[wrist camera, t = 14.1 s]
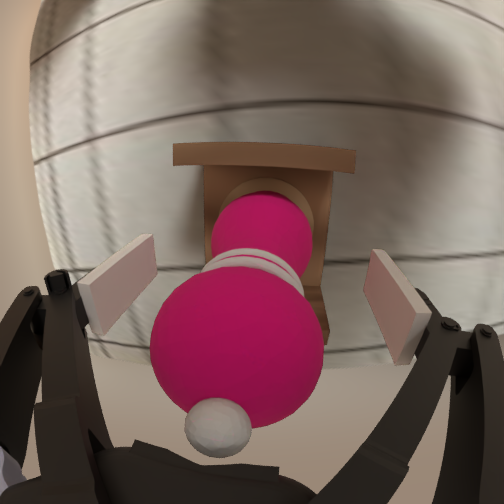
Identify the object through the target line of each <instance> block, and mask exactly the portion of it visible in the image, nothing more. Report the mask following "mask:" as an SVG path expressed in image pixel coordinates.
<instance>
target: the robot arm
mask: <svg viewBox="0 0 504 504" xmlns="http://www.w3.org/2000/svg"><path fill="white" fill-rule="evenodd" d="M156 275H157V267H156V259H155V250H154V240H153V234H141V235H140V236H138V237H137V238H136V239H134V240H133V241H131V242H130V243H129V244H127V245H126V246H124V247H123V248H122V249H120V250H119V251H118V252H116V253H115V254H113V255H112V256H111V257H109V258H108V259H107V260H105V261H104V262H103V263H101V264H100V265H99V266H98V267H96V268H94V269H92V270H91V271H90V272H89V273H88V274H86V275H85V276H84V277H82V278H81V279H80V280H78V281H77V282H76V283H75V284H73V285H71V281H70V277H69V274H68V271H67V270H64V269H60V270H55V271H52V272H50V273H48V274H47V275H46V276H45V278H44V280H45V284H46V287H47V290H48V293H49V295H41V293H40V290H39V288H38V287H37V286H31V287H30V286H29V287H26V288H24V290H22V291H21V292H20V293H19V294H18V296H17V297H16V299H15V300H14V302H13V303H12V305H11V306H10V308H9V309H8V311H7V313H6V314H5V316H4V318H3V319H2V321H1V323H0V504H387V503H388V502H389V500H390V499H391V497H392V496H393V494H394V493H395V492H396V490H397V489H398V487H399V485H400V484H401V482H402V481H403V479H404V478H405V476H406V474H407V472H408V470H409V466H407V465H408V462H409V461H410V459H411V457H412V455H413V454H414V452H415V450H416V448H417V446H418V444H419V442H420V441H421V439H422V436H423V434H424V433H425V431H426V428H427V426H428V424H429V422H430V420H431V417H432V415H433V413H434V411H435V409H436V406H437V403H438V401H439V399H440V396H441V394H442V391H443V389H444V386H445V383H446V380H447V378H448V375H451V392H450V409H449V419H448V428H447V436H446V443H445V450H444V456H443V461H442V466H441V471H440V476H439V479H438V483H437V487H436V491H435V495H434V499H433V502H432V504H504V360H503V355H502V351H501V347H500V343H499V339H498V336H497V334H496V332H495V331H494V330H493V328H492V327H490V326H489V325H485V324H477V325H476V326H475V328H474V330H473V332H472V333H470V332H465V331H461V327H460V325H459V324H458V323H457V322H456V321H455V320H453V319H451V318H448V317H442V316H441V314H440V313H439V312H438V310H437V309H436V308H435V306H434V305H433V304H432V302H431V301H430V300H429V298H428V297H427V296H426V294H425V293H424V292H422V291H421V290H419V289H418V288H414V287H413V286H412V285H411V283H410V282H409V281H408V279H407V278H406V277H405V275H404V274H403V273H402V272H401V270H400V269H399V268H398V267H397V265H396V264H395V263H394V262H393V260H392V259H391V258H390V257H389V255H388V254H387V253H386V252H385V251H384V250H382V249H372V252H371V257H370V262H369V267H368V272H367V276H366V281H365V285H364V289H363V291H364V293H365V295H366V297H367V299H368V302H369V304H370V306H371V308H372V311H373V313H374V315H375V318H376V320H377V322H378V325H379V327H380V329H381V332H382V334H383V337H384V339H385V341H386V344H387V346H388V349H389V351H390V354H391V357H392V359H393V362H394V364H395V365H409V364H410V362H411V360H412V358H413V356H414V354H415V356H416V358H417V361H416V362H415V364H414V366H413V368H412V370H411V372H410V374H409V375H408V377H407V379H406V381H405V382H404V384H403V386H402V388H401V389H400V391H399V393H398V394H397V396H396V398H395V399H394V401H393V402H392V404H391V405H390V407H389V408H388V410H387V411H386V413H385V414H384V416H383V417H382V419H381V420H380V422H379V423H378V424H377V426H376V427H375V428H374V430H373V431H372V433H371V434H370V435H369V437H368V438H367V439H366V441H365V442H364V443H363V444H362V445H361V446H360V447H359V449H358V450H357V451H356V452H355V454H354V455H353V456H352V457H351V458H350V460H349V461H348V462H347V463H346V464H345V466H344V467H343V468H342V469H341V470H340V471H339V472H338V474H337V475H336V476H334V478H333V479H332V480H331V481H330V482H329V483H328V484H327V485H326V486H325V487H324V488H323V489H322V490H321V491H320V492H319V493H318V494H315V493H314V492H313V491H312V490H310V489H309V488H308V487H306V486H305V485H303V484H301V483H299V482H297V481H296V480H293V479H290V478H288V477H285V476H281V475H279V467H274V466H260V465H250V464H231V465H205V466H204V465H199V464H196V463H194V462H192V461H190V460H188V459H186V458H183V457H181V456H179V455H178V454H175V453H174V452H171V451H170V450H168V449H165V448H161V447H158V446H154V445H151V444H148V443H144V442H141V441H139V440H135V441H134V443H133V445H132V447H115V448H114V447H113V445H112V442H111V440H110V437H109V434H108V430H107V427H106V424H105V420H104V417H103V414H102V409H101V405H100V402H99V398H98V393H97V389H96V384H95V379H94V374H93V369H92V365H91V358H90V352H89V345H88V338H87V332H86V329H85V326H86V325H87V324H88V323H89V325H90V327H91V330H92V333H95V334H99V335H103V336H105V334H106V333H107V332H108V331H109V329H110V328H111V327H112V326H113V325H114V324H115V322H116V321H117V320H118V319H119V318H120V316H121V315H122V314H123V313H124V312H125V311H126V309H127V308H128V307H129V306H130V305H131V304H132V303H133V301H134V300H135V299H136V298H137V297H138V296H139V295H140V293H141V292H142V291H143V290H144V289H145V288H146V287H147V285H148V284H149V283H150V282H151V281H152V280H153V279H154V278H155V277H156ZM41 376H42V402H40V403H36V404H35V400H36V396H37V392H38V387H39V383H40V380H41ZM34 404H35V405H34ZM33 409H34V424H35V436H36V445H37V453H38V460H39V467H40V472H41V476H39V477H36V478H33V479H30V480H27V479H26V478H25V476H23V475H22V471H21V469H22V467H23V463H24V459H25V456H26V450H27V444H28V437H29V430H30V424H31V419H32V414H33Z"/></svg>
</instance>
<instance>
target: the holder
mask: <svg viewBox="0 0 504 504" xmlns="http://www.w3.org/2000/svg"><path fill="white" fill-rule="evenodd" d="M355 157H356V151H355V150H348V149H340V148H331V147H321V146H310V145H298V144H282V143H259V142H199V143H177V144H173V166H178V165H204V224H205V256H206V264H207V263H208V262H209V261H211V260H212V259H213V256H212V250H211V237H212V231H213V228H214V225H215V223H216V221H217V219H218V217H219V216H220V214H221V212H222V211H223V210H224V208H225V207H226V206H227V205H228V204H230V203H231V202H232V201H233V200H235V199H237V198H239V197H240V196H243V195H245V194H248V193H253V192H256V191H263V190H266V191H274V192H278V193H280V194H282V195H284V196H286V197H287V198H289V199H290V200H291V201H292V202H293V203H295V204H296V205H297V206H298V207H299V208H300V209H301V210H302V212H303V213H304V214H305V216H306V218H307V219H308V222H309V224H310V227H311V232H312V246H313V247H312V254H311V258H310V261H309V263H308V266H307V268H306V270H305V272H304V273H303V275H302V276H301V277H300V281H301V284H302V287H303V290H304V297H305V299H306V300H307V301H308V302H309V303H310V305H311V307H312V309H313V311H314V313H315V314H316V316H317V318H318V320H319V324H320V327H321V330H322V333H323V341H324V345H327V341H328V337H329V333H330V329H329V324H328V319H327V314H326V310H325V305H324V301H323V296H322V292H321V287H320V285H321V278H322V271H323V264H324V257H325V249H326V241H327V233H328V224H329V214H330V204H331V193H332V181H333V171H336V172H345V173H354V171H355Z"/></svg>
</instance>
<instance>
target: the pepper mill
mask: <svg viewBox="0 0 504 504" xmlns="http://www.w3.org/2000/svg"><path fill="white" fill-rule="evenodd" d="M312 247H313V246H312V232H311V227H310V224H309V222H308V219H307V218H306V216H305V214H304V213H303V212H302V210H301V209H300V208H299V207H298V206H297V205H296V204H295V203H293V202H292V201H291V200H290V199H289V198H287V197H286V196H284V195H282V194H280V193H278V192H274V191H266V190H263V191H256V192H253V193H248V194H245V195H243V196H240V197H239V198H237V199H235V200H233V201H232V202H231V203H230V204H228V205H227V206H226V207H225V208H224V210H223V211H222V212H221V214H220V216H219V217H218V219H217V221H216V223H215V225H214V228H213V231H212V237H211V250H212V256H213V259H212V260H211V261H209V262H208V263H207V264H206V265H205V266H204V268H203V269H202V271H201V272H200V273H199V274H196V275H194V276H192V277H191V278H190V279H188V280H187V281H185V282H184V283H183V284H181V285H180V286H179V287H177V288H176V289H175V290H174V291H173V292H172V293H171V295H170V296H169V297H168V298H167V299H166V301H165V302H164V303H163V305H162V307H161V309H160V311H159V313H158V315H157V317H156V319H155V322H154V326H153V329H152V333H151V340H150V358H151V363H152V367H153V369H154V373H155V375H156V377H157V380H158V382H159V384H160V386H161V387H162V388H163V390H164V391H165V393H166V394H167V395H168V397H169V398H170V399H171V400H172V401H173V402H174V403H175V404H176V405H178V406H179V407H180V408H182V409H183V410H184V411H185V412H187V413H188V414H187V416H186V419H185V433H186V436H187V439H188V441H189V442H190V444H191V445H192V446H193V447H194V448H195V449H196V450H197V451H199V452H200V453H202V454H204V455H207V456H209V457H216V458H225V457H228V456H233V455H235V454H237V453H238V452H240V451H241V450H242V449H243V448H244V447H245V446H246V444H247V443H248V442H249V439H250V436H251V431H252V428H258V427H263V426H268V425H270V424H273V423H276V422H278V421H280V420H282V419H284V418H286V417H287V416H289V415H291V414H292V413H294V412H295V411H296V410H297V409H298V408H299V407H300V406H301V405H302V404H303V403H304V402H305V401H306V400H307V399H308V398H309V397H310V395H311V393H312V392H313V390H314V389H315V386H316V384H317V382H318V379H319V377H320V374H321V370H322V366H323V353H324V341H323V333H322V330H321V327H320V324H319V320H318V318H317V316H316V314H315V313H314V311H313V309H312V307H311V305H310V303H309V302H308V301H307V300H306V299H305V297H304V290H303V287H302V284H301V281H300V277H301V276H302V275H303V273H304V272H305V270H306V268H307V266H308V263H309V261H310V258H311V254H312Z"/></svg>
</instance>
